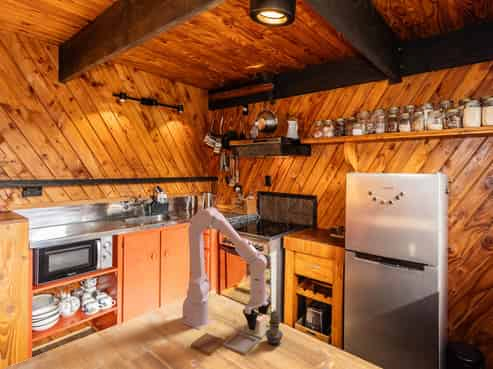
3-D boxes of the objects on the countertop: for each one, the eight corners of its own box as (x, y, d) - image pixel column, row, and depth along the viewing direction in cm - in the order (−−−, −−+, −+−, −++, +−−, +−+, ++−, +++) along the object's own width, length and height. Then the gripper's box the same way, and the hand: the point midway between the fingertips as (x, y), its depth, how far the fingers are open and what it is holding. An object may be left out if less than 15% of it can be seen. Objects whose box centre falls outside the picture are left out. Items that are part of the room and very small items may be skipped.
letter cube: (247, 330, 107) (247, 316, 107) (254, 324, 111) (254, 311, 111) (259, 334, 105) (259, 320, 104) (266, 328, 109) (266, 314, 109)
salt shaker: (281, 350, 96) (282, 314, 96) (263, 347, 98) (264, 312, 97) (283, 340, 102) (284, 306, 101) (266, 337, 103) (267, 304, 103)
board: (190, 346, 97) (190, 344, 97) (206, 335, 104) (206, 332, 104) (209, 355, 93) (209, 352, 93) (224, 343, 100) (224, 340, 100)
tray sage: (239, 331, 107) (239, 329, 107) (252, 321, 114) (252, 318, 114) (261, 339, 102) (261, 337, 102) (273, 328, 109) (273, 325, 109)
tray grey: (222, 346, 98) (222, 343, 98) (237, 333, 105) (237, 331, 105) (245, 356, 93) (245, 353, 93) (259, 342, 101) (259, 339, 101)
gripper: (257, 298, 99) (256, 337, 100) (276, 284, 111) (275, 319, 112) (239, 293, 103) (239, 331, 103) (260, 280, 115) (259, 314, 116)
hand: (257, 324), depth 108 cm, fingers open, 7 cm apart
